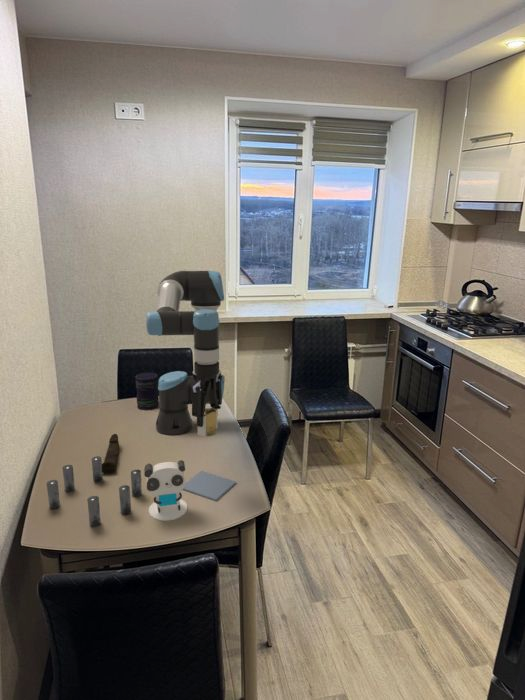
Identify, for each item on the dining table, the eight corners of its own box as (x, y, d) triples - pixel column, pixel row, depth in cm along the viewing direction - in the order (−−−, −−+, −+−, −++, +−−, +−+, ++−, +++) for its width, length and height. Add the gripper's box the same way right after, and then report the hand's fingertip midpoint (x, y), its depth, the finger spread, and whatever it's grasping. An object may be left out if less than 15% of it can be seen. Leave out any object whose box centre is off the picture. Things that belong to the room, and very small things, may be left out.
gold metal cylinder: (205, 427, 154) (205, 406, 152) (220, 430, 151) (219, 410, 149) (195, 433, 149) (194, 412, 147) (210, 437, 146) (209, 416, 145)
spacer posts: (91, 474, 161) (89, 452, 159) (152, 496, 149) (151, 474, 147) (39, 503, 144) (36, 480, 142) (103, 532, 132) (101, 506, 130)
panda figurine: (146, 523, 136) (144, 476, 132) (146, 501, 146) (144, 457, 142) (188, 517, 139) (187, 472, 135) (185, 496, 149) (184, 453, 145)
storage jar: (152, 400, 226) (151, 370, 222) (162, 407, 219) (161, 376, 215) (133, 405, 220) (131, 375, 216) (143, 412, 213) (141, 380, 209)
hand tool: (115, 474, 162) (115, 459, 160) (101, 475, 161) (100, 460, 159) (125, 444, 183) (124, 431, 182) (112, 445, 183) (111, 431, 181)
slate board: (201, 472, 164) (201, 470, 163) (236, 483, 157) (236, 481, 157) (179, 488, 153) (179, 487, 153) (216, 501, 147) (216, 499, 147)
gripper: (213, 352, 154) (214, 418, 160) (177, 367, 138) (179, 440, 144) (233, 355, 150) (233, 423, 156) (198, 371, 134) (200, 445, 140)
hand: (207, 431), depth 150 cm, fingers closed on gold metal cylinder, 5 cm apart
